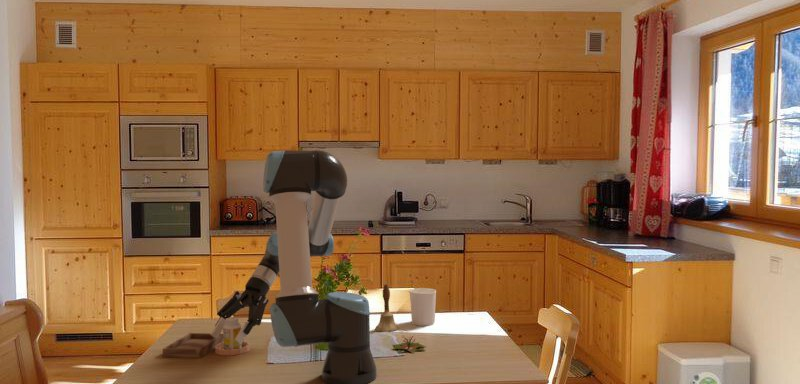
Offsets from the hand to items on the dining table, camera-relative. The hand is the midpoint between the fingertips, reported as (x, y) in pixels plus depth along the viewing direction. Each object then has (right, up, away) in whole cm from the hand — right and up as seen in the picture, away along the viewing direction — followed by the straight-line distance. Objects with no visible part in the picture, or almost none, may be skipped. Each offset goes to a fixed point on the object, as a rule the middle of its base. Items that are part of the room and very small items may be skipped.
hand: (225, 339), depth 197 cm
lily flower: (+58, -4, +2) cm, 58 cm away
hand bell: (+51, -2, +26) cm, 57 cm away
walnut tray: (-11, -4, +5) cm, 13 cm away
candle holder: (+64, -2, +33) cm, 72 cm away
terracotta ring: (+2, -4, +3) cm, 5 cm away
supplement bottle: (+2, -4, +3) cm, 5 cm away
